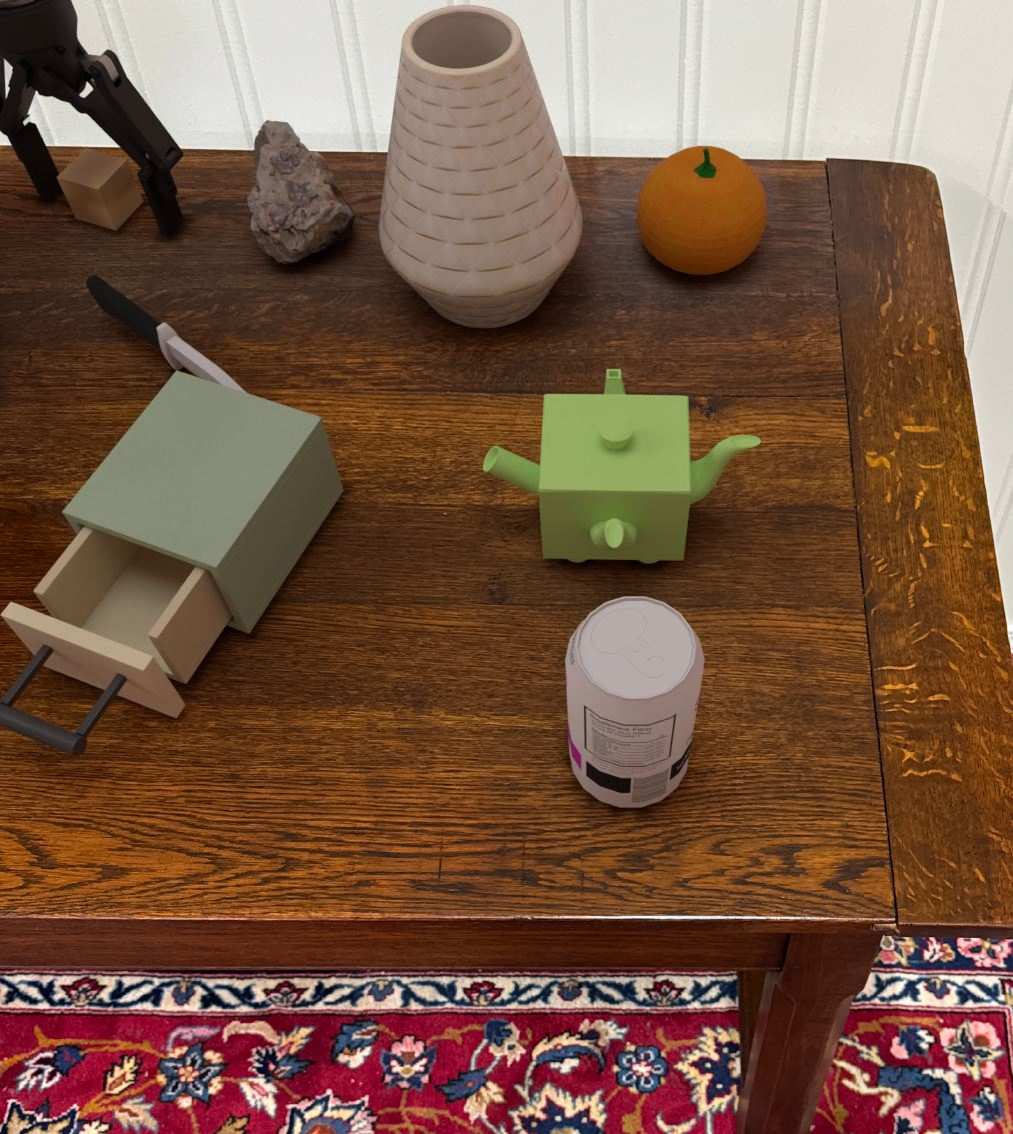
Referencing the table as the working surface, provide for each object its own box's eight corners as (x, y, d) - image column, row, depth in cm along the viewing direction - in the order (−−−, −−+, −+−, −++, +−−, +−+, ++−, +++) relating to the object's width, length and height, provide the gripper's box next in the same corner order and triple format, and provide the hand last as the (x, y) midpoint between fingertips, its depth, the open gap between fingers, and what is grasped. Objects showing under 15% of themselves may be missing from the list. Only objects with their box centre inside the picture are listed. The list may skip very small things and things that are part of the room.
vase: (585, 222, 107) (583, -28, 87) (581, 356, 98) (578, 111, 78) (401, 221, 107) (357, -29, 88) (380, 355, 99) (326, 110, 79)
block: (75, 219, 108) (56, 177, 104) (103, 189, 110) (85, 147, 106) (116, 231, 107) (98, 189, 103) (143, 201, 109) (126, 159, 105)
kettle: (746, 524, 89) (765, 427, 79) (622, 635, 84) (625, 546, 74) (608, 423, 94) (610, 321, 85) (484, 522, 89) (470, 425, 80)
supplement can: (545, 751, 79) (536, 639, 66) (634, 684, 82) (642, 564, 69) (622, 835, 76) (628, 735, 63) (712, 762, 78) (735, 652, 66)
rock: (277, 300, 106) (322, 251, 98) (186, 196, 102) (225, 137, 95) (337, 253, 111) (384, 202, 103) (252, 152, 107) (294, 92, 100)
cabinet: (249, 634, 84) (216, 567, 77) (106, 581, 87) (61, 511, 79) (344, 490, 91) (321, 416, 84) (209, 445, 94) (176, 369, 86)
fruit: (608, 245, 106) (610, 149, 97) (697, 189, 110) (706, 92, 101) (699, 310, 101) (708, 216, 92) (788, 249, 105) (805, 153, 96)
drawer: (126, 794, 77) (87, 750, 71) (-12, 737, 79) (-61, 690, 73) (274, 572, 86) (251, 516, 80) (147, 526, 88) (115, 469, 82)
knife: (304, 448, 93) (290, 405, 89) (288, 460, 93) (273, 418, 88) (115, 310, 102) (94, 265, 97) (99, 321, 101) (77, 276, 97)
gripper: (-144, -24, 91) (-20, 201, 109) (117, 41, 86) (202, 266, 104) (-83, -71, 95) (28, 155, 113) (171, -11, 89) (244, 215, 108)
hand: (112, 209), depth 109 cm, fingers open, 13 cm apart
